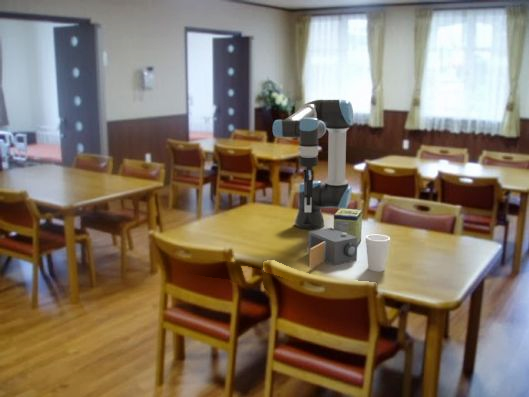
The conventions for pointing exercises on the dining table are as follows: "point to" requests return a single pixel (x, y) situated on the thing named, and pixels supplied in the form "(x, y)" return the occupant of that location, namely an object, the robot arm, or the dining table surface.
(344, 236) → the camera body
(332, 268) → the dining table surface
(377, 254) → the foam cup
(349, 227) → the protein box
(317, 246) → the side door
